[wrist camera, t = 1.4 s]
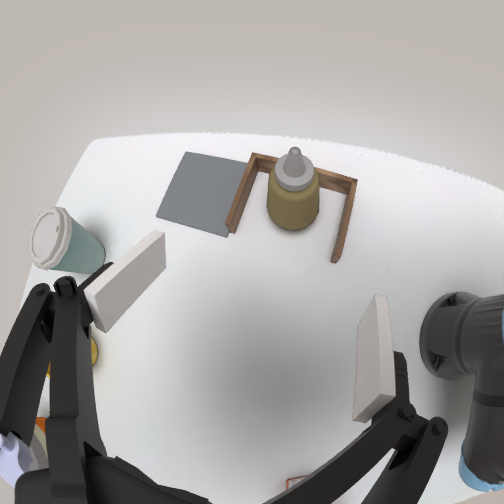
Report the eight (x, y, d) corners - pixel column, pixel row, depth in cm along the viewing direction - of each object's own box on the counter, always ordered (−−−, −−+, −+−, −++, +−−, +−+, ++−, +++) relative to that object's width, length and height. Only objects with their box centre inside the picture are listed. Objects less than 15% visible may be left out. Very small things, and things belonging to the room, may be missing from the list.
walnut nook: (352, 191, 45) (357, 179, 40) (335, 263, 42) (340, 257, 38) (255, 166, 48) (252, 152, 43) (230, 232, 45) (224, 223, 41)
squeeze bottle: (266, 193, 46) (254, 126, 29) (313, 189, 45) (324, 121, 28) (270, 239, 44) (259, 188, 27) (320, 234, 43) (339, 181, 26)
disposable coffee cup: (74, 285, 47) (20, 270, 32) (77, 234, 50) (28, 209, 35) (114, 280, 46) (58, 264, 31) (115, 225, 49) (66, 194, 34)
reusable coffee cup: (61, 401, 41) (12, 412, 27) (94, 450, 38) (48, 473, 23) (41, 419, 40) (-3, 430, 26) (69, 463, 37) (28, 482, 23)
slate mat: (254, 165, 48) (253, 164, 47) (227, 237, 45) (226, 236, 45) (186, 152, 50) (185, 151, 50) (156, 217, 48) (155, 216, 47)
